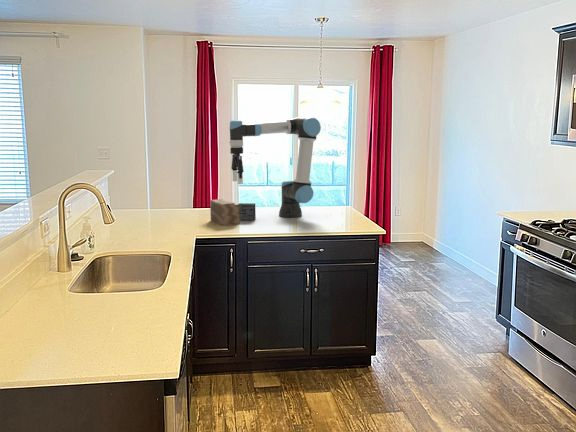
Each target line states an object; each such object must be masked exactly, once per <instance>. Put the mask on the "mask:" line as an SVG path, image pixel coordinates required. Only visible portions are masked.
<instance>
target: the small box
mask: <svg viewBox="0 0 576 432" xmlns="http://www.w3.org/2000/svg"><path fill="white" fill-rule="evenodd" d="M238 204H239V222H243V221H244V222H249V221H250V222H254V221H255V220H257V217H256V203H252V202H251V203H249V202H248V203H244V202H243V203H242V202H241V203H238Z"/></svg>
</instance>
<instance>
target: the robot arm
mask: <svg viewBox="0 0 576 432" xmlns="http://www.w3.org/2000/svg"><path fill="white" fill-rule="evenodd" d="M321 128H322V126H321V123H320V121H319V120H318V119H317V118H315V117H312V116H298V117H295V118H294V117H292V118H286V119H285V120H275V121H273V120H272V121H260V122H257V121H255V122H254V121H253V122H243V120H230V121H229V145H230V146H229V147H230V151H229V153H230V154H231V156H232V158H231V159H232V160H231V170H232V182H237V184H238V185H243V184H244V182H243V181H244V180H243V178H244V176H243V174H244V172H245V171H244V166H243V164H244V163H243V156H242V155H241V154H244V139H243V138H244V137H260V136H261V135H267V134H268V135H269V134H270V135H271V134H284V133H285V134H286V135H297V139H298V140H299V144H298V145H299V147H298V157H297V166H296V173H295V179H293V180H287V181H284V180H283V182H281V205H280V208H279V212H278V216H279V217H283V218H299V217H302V216H303V211H302V208H301V205H300V204H307V203H309V202H310V201H311V200H312V199H313V197H314V189H313V188H312V182H311V180H310V179H311V178H310V176H311V168H312V160H313V159H312V157H313V149H314V148H313V147H314V143H315V141H316V140H317V136H318V135H319V134H320V132H321Z"/></svg>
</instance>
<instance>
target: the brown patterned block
mask: <svg viewBox="0 0 576 432" xmlns="http://www.w3.org/2000/svg"><path fill="white" fill-rule="evenodd" d="M209 202H210V203H209V205H210V207H209V209H210V222H213V223H214V224H217V225H221V226H223V227H224V226H231V225H240V221H239V203H237V204H235V202H232V201H230V200H226V199H223V198H220V199H210V201H209Z"/></svg>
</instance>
